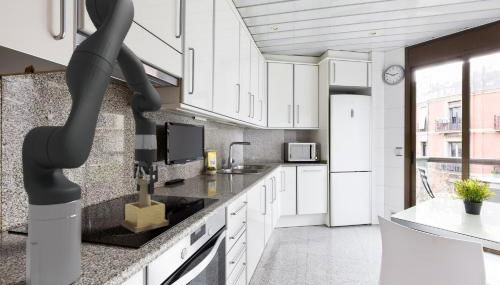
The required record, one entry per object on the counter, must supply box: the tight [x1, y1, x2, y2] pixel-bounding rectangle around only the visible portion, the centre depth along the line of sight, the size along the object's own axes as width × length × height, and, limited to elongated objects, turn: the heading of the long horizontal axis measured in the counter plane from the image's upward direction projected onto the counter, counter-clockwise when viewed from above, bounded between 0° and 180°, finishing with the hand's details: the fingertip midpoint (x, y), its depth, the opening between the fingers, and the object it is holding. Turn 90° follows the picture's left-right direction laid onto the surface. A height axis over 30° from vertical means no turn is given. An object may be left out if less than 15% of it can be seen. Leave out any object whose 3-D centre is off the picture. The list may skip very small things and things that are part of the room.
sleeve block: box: [120, 199, 169, 234], centre depth 96 cm, size 12×12×8 cm
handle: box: [135, 178, 152, 208], centre depth 96 cm, size 5×6×15 cm
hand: (145, 192), depth 96 cm, fingers open, 8 cm apart
